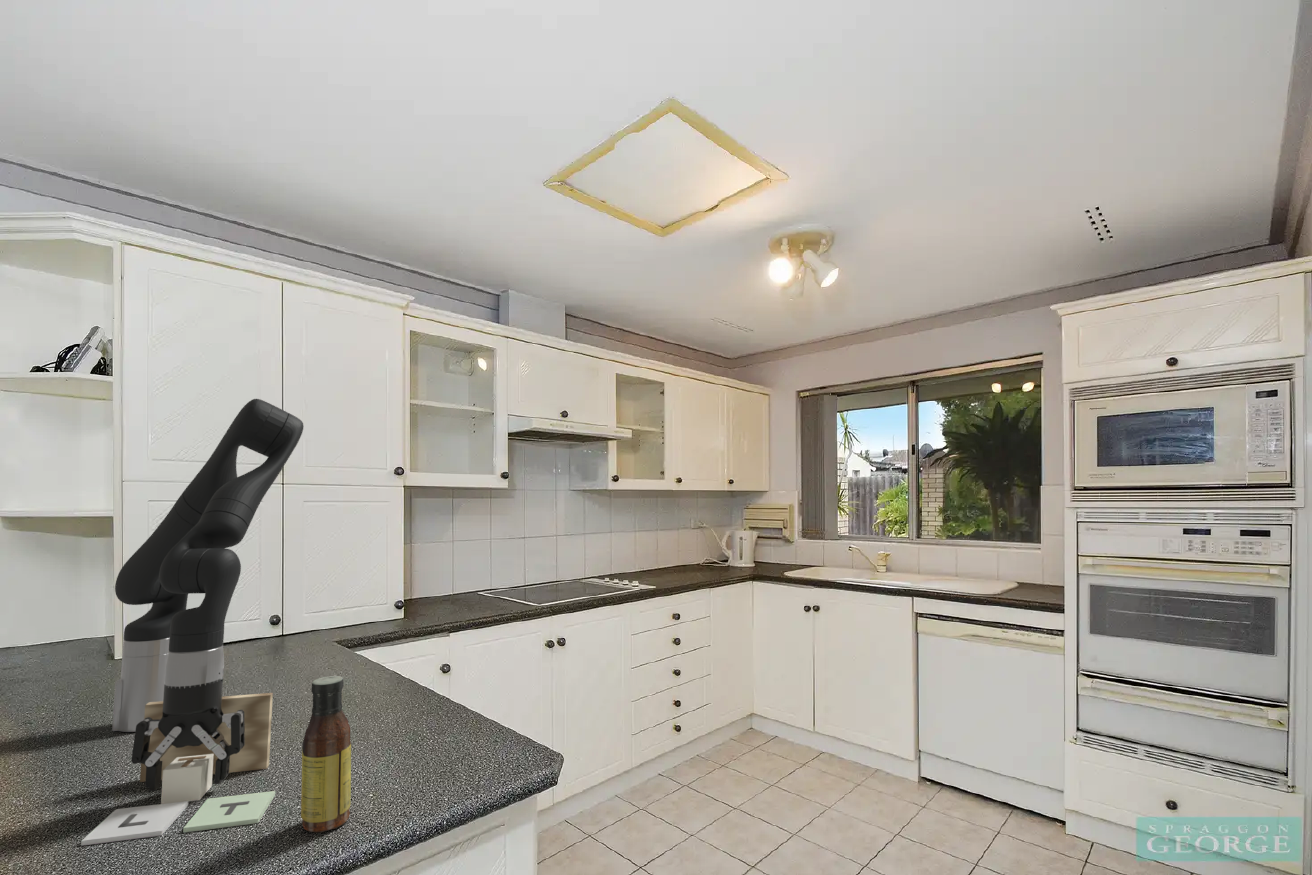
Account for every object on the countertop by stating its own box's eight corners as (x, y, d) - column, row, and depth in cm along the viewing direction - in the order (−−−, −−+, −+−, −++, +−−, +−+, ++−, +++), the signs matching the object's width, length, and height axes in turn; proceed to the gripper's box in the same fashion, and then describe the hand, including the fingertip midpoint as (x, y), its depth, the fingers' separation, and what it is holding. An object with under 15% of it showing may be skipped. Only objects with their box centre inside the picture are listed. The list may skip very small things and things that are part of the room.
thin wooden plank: (139, 782, 104) (145, 704, 105) (144, 778, 106) (149, 702, 107) (266, 768, 109) (270, 695, 110) (269, 765, 111) (272, 692, 112)
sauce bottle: (335, 808, 95) (341, 670, 97) (359, 820, 92) (364, 676, 94) (289, 827, 90) (296, 680, 92) (312, 841, 86) (319, 687, 88)
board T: (183, 832, 89) (183, 827, 89) (207, 802, 97) (207, 797, 97) (257, 823, 91) (258, 817, 91) (275, 794, 100) (275, 790, 100)
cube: (160, 805, 97) (163, 769, 97) (174, 790, 101) (176, 756, 102) (199, 800, 98) (201, 765, 99) (211, 786, 103) (213, 752, 103)
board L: (80, 845, 85) (81, 839, 85) (115, 813, 94) (116, 808, 94) (161, 835, 88) (161, 829, 88) (188, 805, 96) (188, 800, 96)
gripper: (128, 688, 96) (120, 803, 94) (238, 680, 100) (232, 790, 98) (151, 674, 103) (144, 781, 101) (253, 667, 107) (247, 770, 106)
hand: (187, 785), depth 100 cm, fingers open, 8 cm apart
